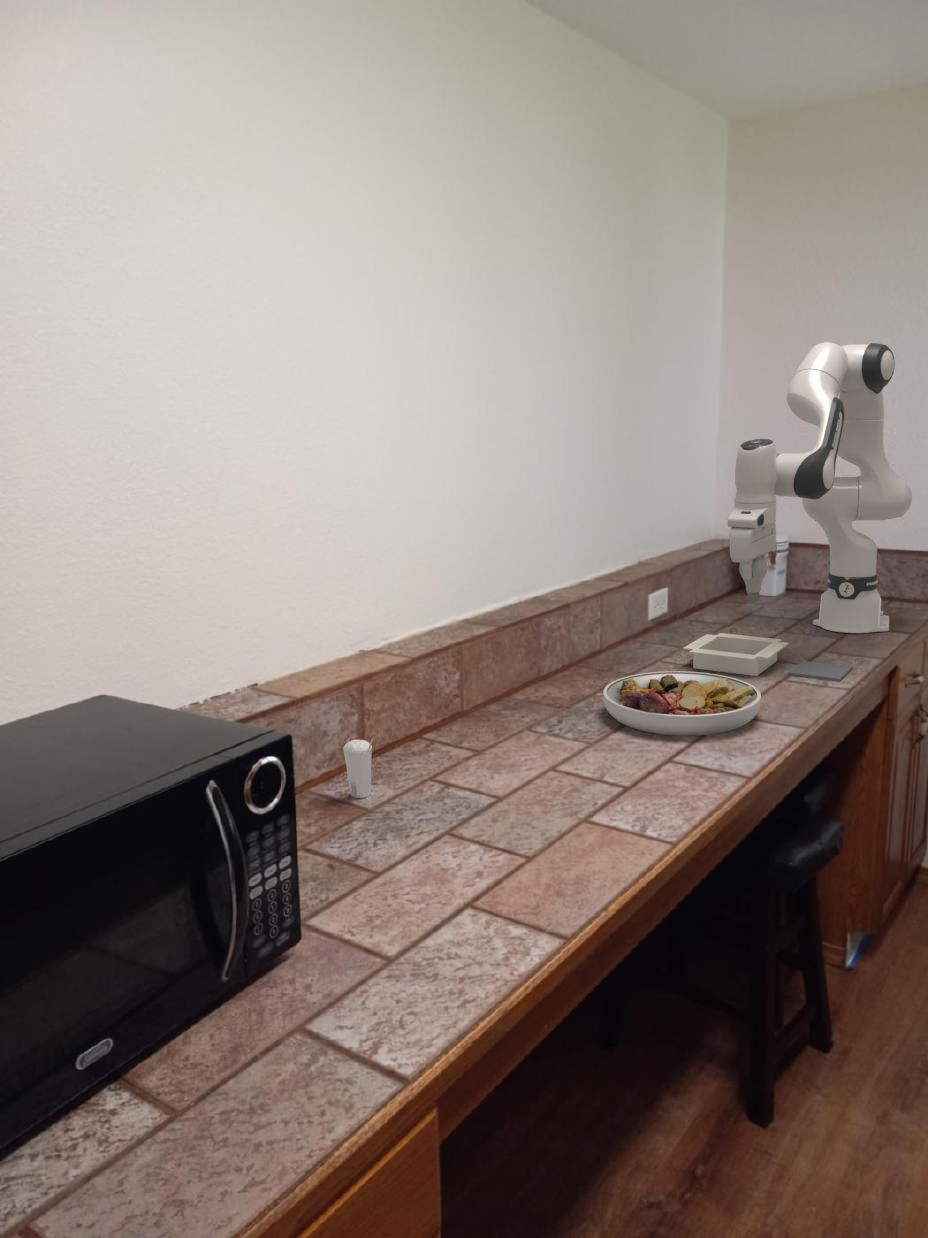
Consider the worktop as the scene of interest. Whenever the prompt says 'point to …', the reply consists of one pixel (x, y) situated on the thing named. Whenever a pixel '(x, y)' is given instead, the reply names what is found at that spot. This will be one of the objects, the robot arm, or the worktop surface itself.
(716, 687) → the bowl
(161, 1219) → the worktop surface
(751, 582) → the lightbulb
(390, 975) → the worktop surface
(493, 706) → the worktop surface
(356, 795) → the milkshake
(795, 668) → the mat
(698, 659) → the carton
